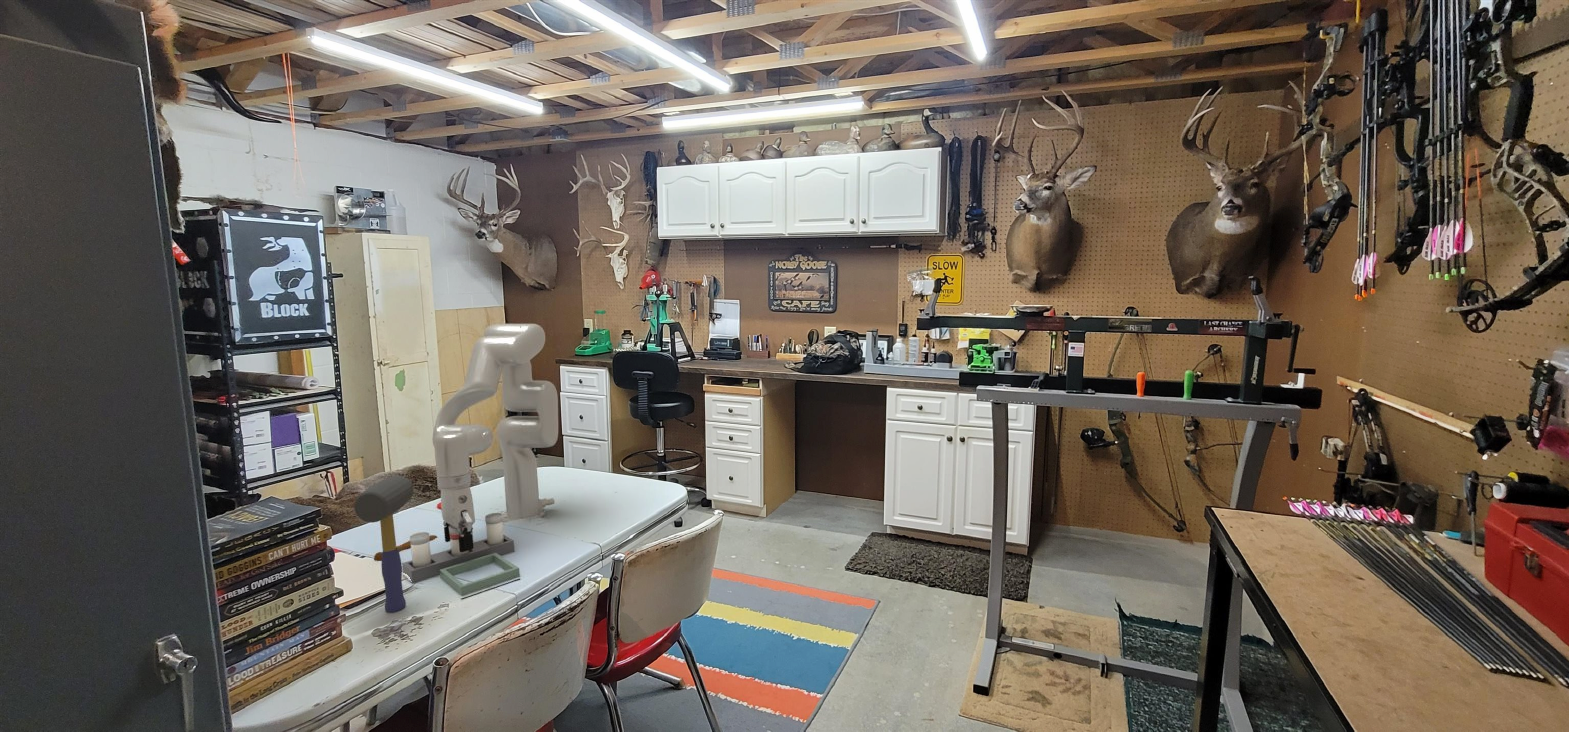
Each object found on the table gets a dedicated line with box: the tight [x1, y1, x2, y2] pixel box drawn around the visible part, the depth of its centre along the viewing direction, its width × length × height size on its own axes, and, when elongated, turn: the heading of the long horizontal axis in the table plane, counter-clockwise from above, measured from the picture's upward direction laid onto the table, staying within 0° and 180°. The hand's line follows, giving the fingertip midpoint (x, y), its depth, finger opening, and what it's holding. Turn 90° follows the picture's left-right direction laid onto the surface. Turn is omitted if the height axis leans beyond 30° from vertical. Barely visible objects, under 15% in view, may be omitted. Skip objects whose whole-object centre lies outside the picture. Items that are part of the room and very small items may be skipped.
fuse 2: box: [484, 512, 504, 546], centre depth 173 cm, size 4×4×10 cm
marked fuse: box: [449, 522, 469, 557], centre depth 167 cm, size 4×4×10 cm
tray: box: [439, 553, 521, 601], centre depth 159 cm, size 14×14×3 cm
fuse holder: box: [401, 533, 515, 584], centre depth 168 cm, size 25×7×4 cm, turn 136°
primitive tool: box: [373, 534, 438, 562], centre depth 179 cm, size 19×6×4 cm, turn 173°
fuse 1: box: [409, 531, 432, 569], centre depth 161 cm, size 4×4×10 cm
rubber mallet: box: [353, 475, 415, 613], centre depth 143 cm, size 12×8×30 cm, turn 5°
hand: (459, 545), depth 167 cm, fingers open, 9 cm apart
